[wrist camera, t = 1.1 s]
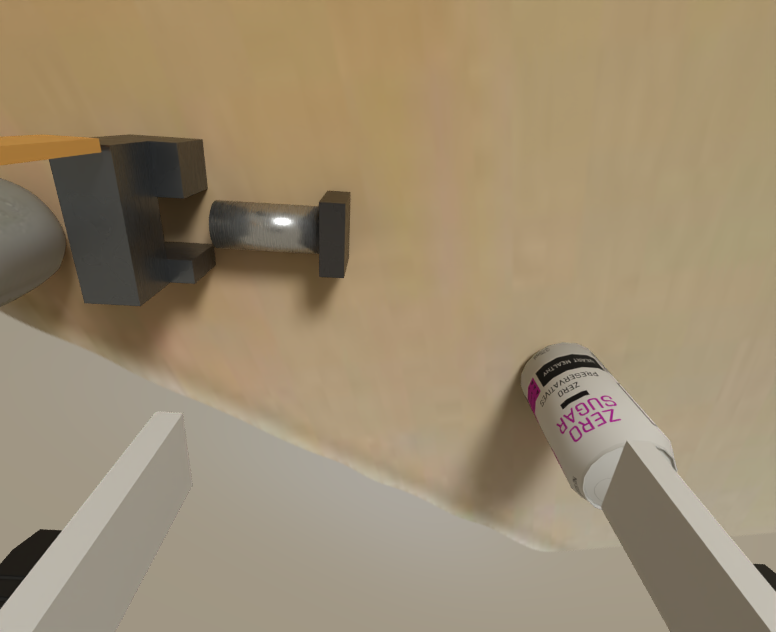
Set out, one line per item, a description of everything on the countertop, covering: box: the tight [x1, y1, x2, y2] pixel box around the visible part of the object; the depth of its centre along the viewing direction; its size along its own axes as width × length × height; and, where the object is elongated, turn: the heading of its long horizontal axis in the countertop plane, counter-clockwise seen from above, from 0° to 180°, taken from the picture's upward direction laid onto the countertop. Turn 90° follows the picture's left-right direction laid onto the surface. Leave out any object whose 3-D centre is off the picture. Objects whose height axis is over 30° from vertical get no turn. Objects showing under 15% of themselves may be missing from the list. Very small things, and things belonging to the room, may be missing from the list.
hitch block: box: [49, 135, 216, 306], centre depth 34 cm, size 11×6×10 cm, turn 176°
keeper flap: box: [0, 135, 101, 165], centre depth 23 cm, size 8×3×1 cm
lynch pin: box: [209, 191, 350, 278], centre depth 37 cm, size 6×11×6 cm, turn 86°
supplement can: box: [521, 342, 677, 510], centre depth 40 cm, size 8×8×15 cm
